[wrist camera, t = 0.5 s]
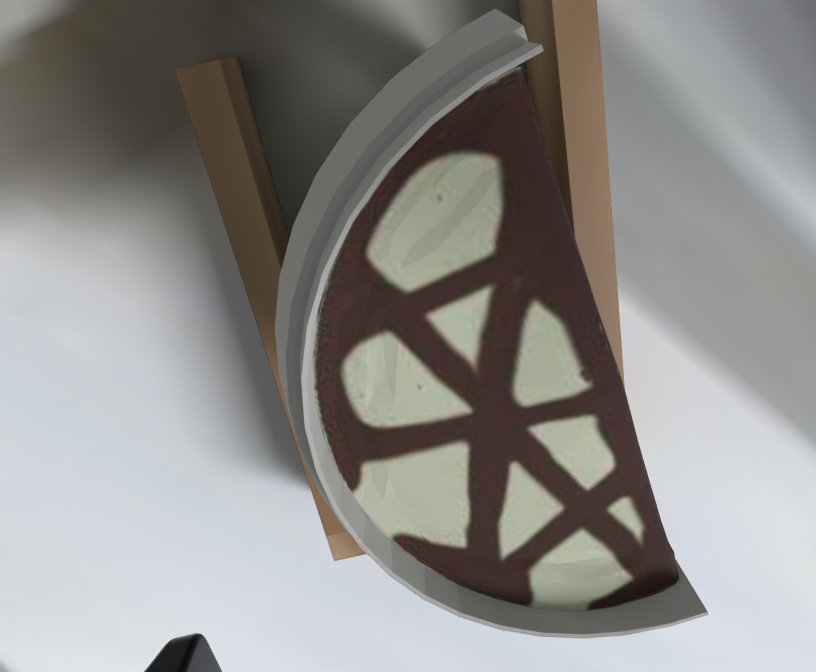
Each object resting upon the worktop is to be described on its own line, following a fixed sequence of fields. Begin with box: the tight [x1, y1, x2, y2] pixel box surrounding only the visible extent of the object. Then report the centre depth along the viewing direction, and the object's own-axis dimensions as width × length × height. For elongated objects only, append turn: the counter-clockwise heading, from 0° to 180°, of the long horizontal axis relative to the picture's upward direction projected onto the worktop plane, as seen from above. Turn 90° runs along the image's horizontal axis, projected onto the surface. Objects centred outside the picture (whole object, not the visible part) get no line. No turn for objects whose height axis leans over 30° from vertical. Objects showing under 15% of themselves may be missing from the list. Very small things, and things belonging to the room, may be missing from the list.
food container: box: [275, 8, 708, 638], centre depth 16 cm, size 12×6×10 cm, turn 22°
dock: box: [174, 0, 625, 561], centre depth 19 cm, size 10×14×3 cm, turn 11°
